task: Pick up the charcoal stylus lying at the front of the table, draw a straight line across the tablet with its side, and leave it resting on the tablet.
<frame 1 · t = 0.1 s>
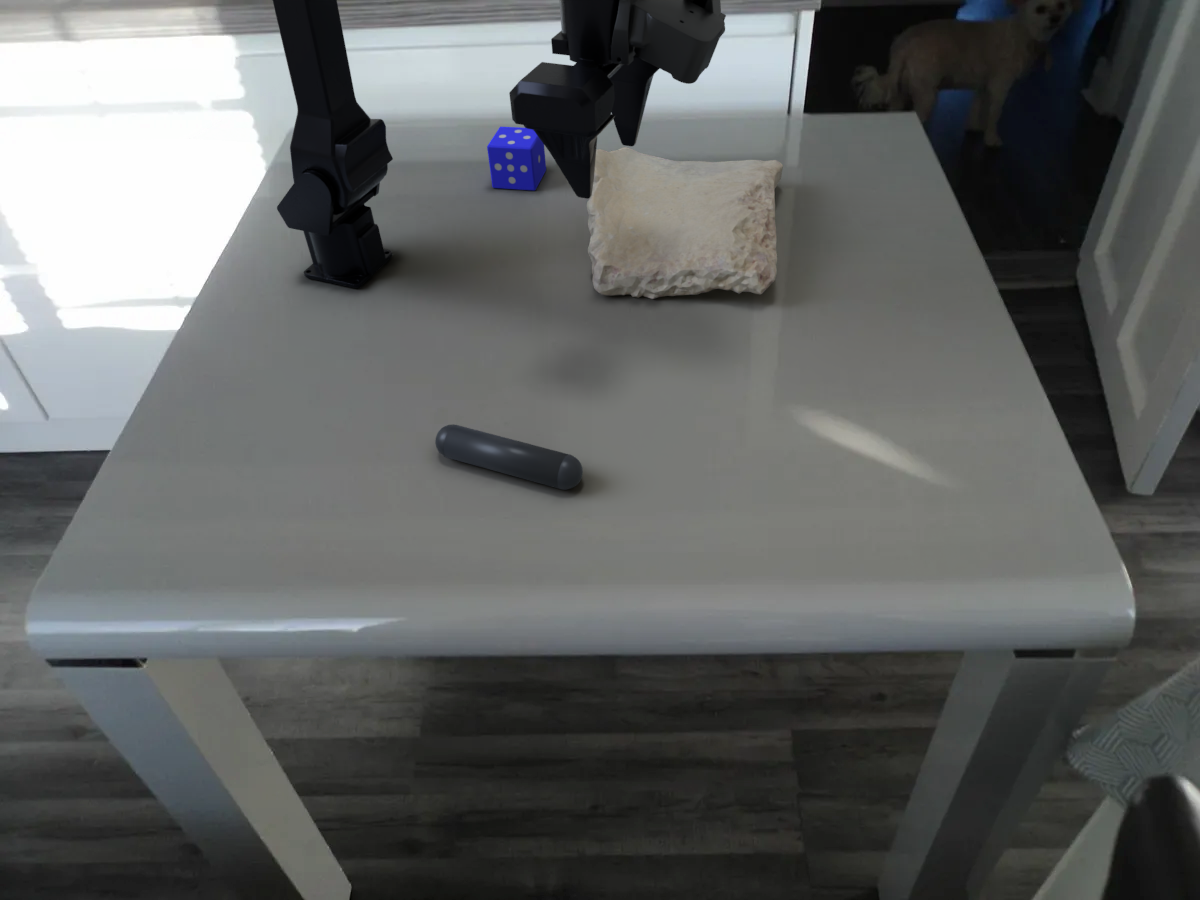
hand: (607, 170, 71), 15 cm above the table, tool pointing down, fingers open, 9 cm apart
die: (519, 181, 102), on the table
stylus: (509, 468, 68), on the table
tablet: (678, 238, 92), on the table
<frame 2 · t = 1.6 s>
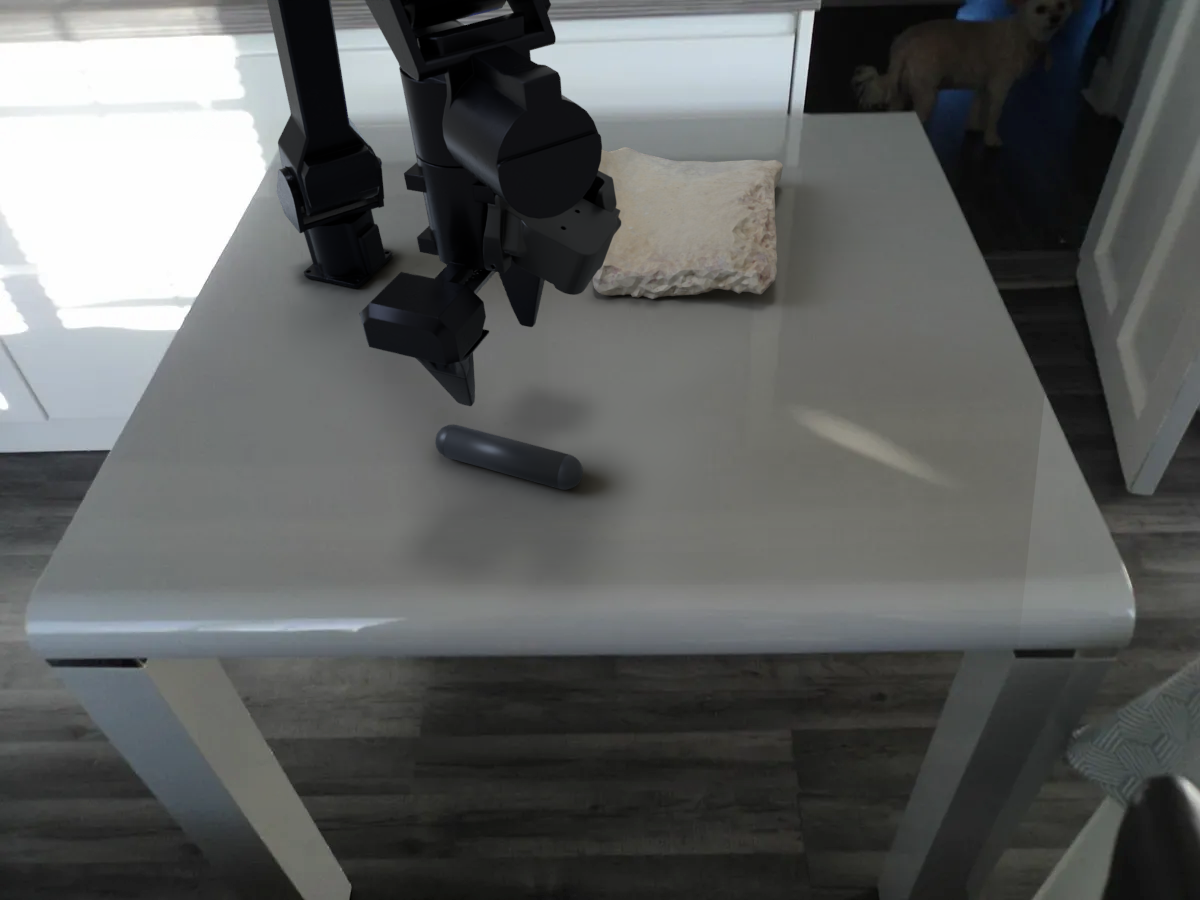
hand: (498, 362, 62), 10 cm above the table, tool pointing down, fingers open, 9 cm apart
nothing on the table moved.
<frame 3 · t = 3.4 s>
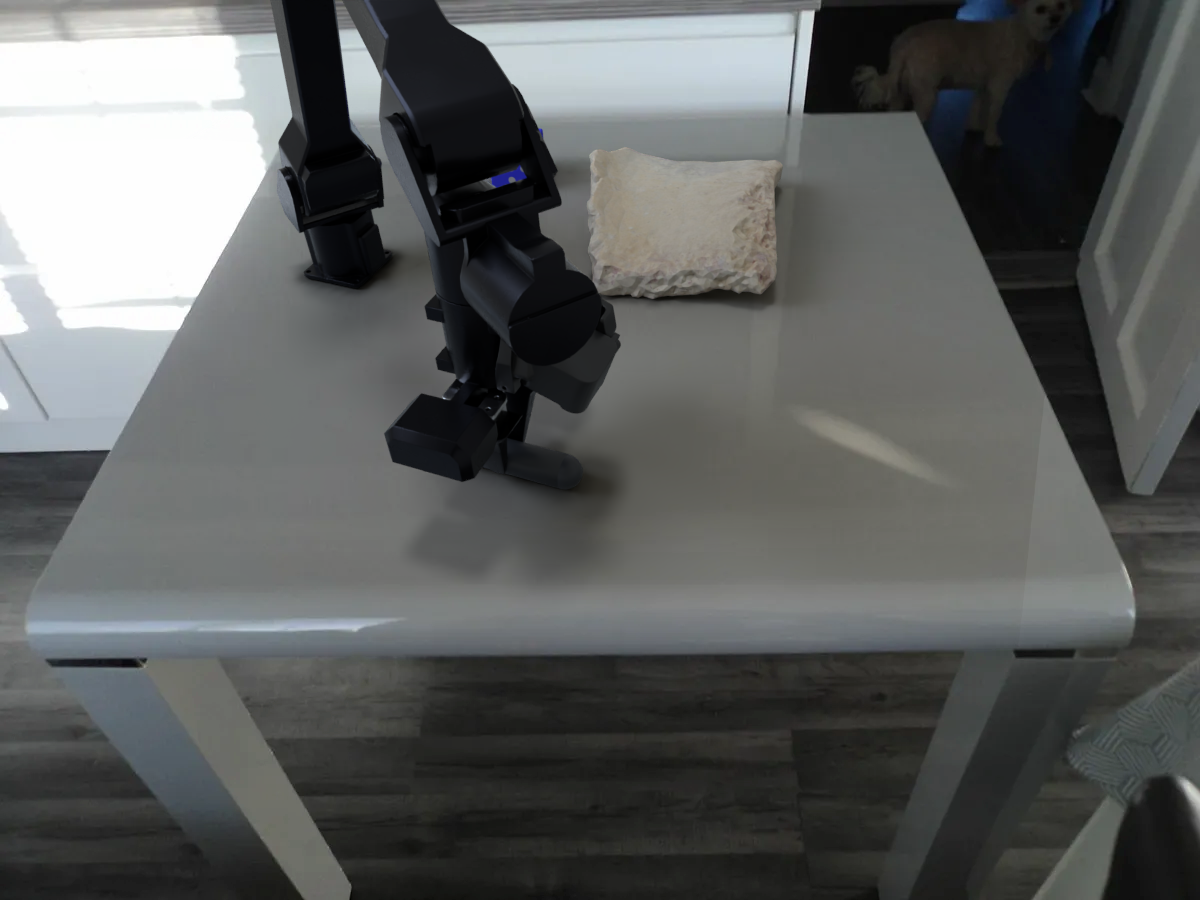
hand: (507, 458, 68), 1 cm above the table, tool pointing down, fingers closed on stylus, 2 cm apart
stylus: (509, 468, 68), on the table, touching gripper
everything else where it was.
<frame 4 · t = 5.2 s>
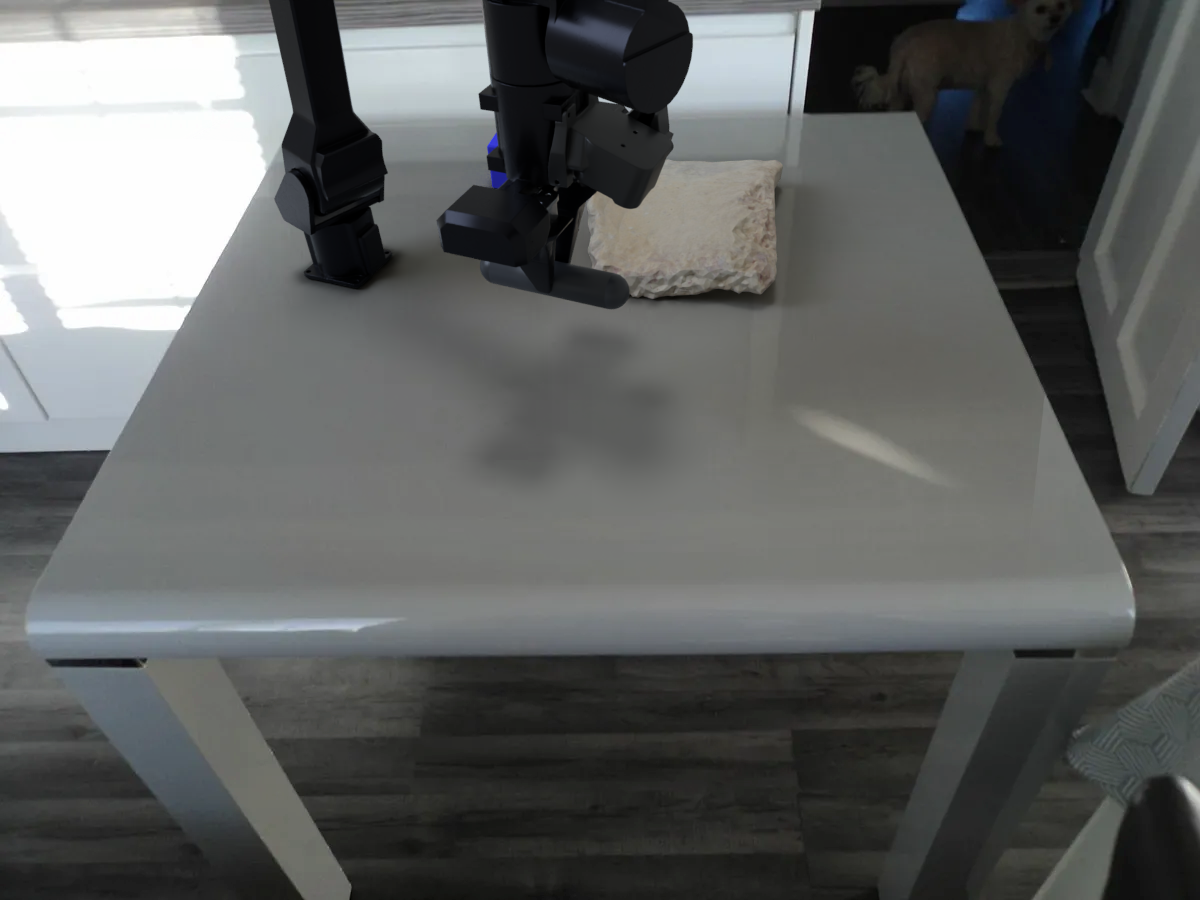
hand: (553, 281, 67), 11 cm above the table, tool pointing down, fingers closed on stylus, 2 cm apart
stylus: (554, 293, 68), point 10 cm above the table, touching gripper
everything else where it was.
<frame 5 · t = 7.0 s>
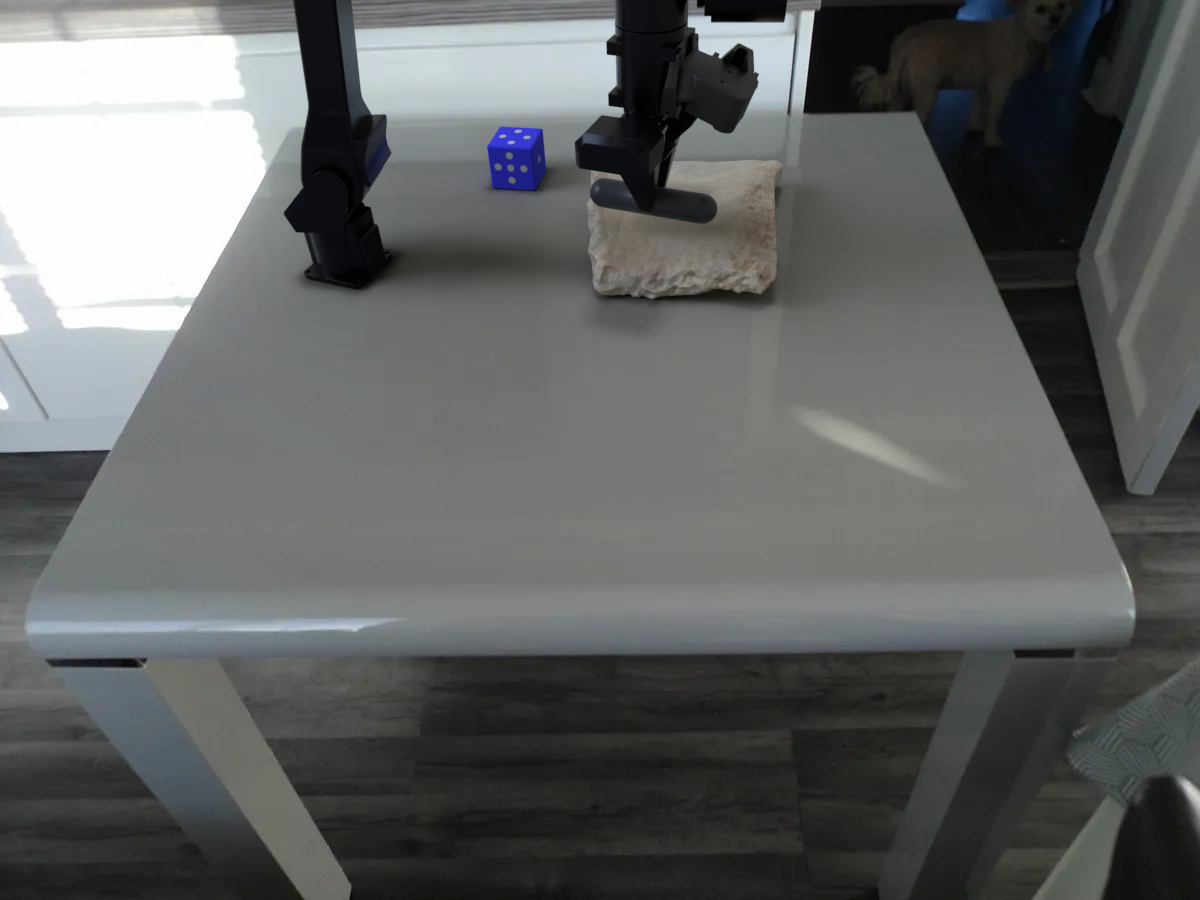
hand: (651, 203, 82), 8 cm above the table, tool pointing down, fingers closed on stylus, 2 cm apart
stylus: (652, 213, 82), point 7 cm above the table, touching gripper
everything else where it was.
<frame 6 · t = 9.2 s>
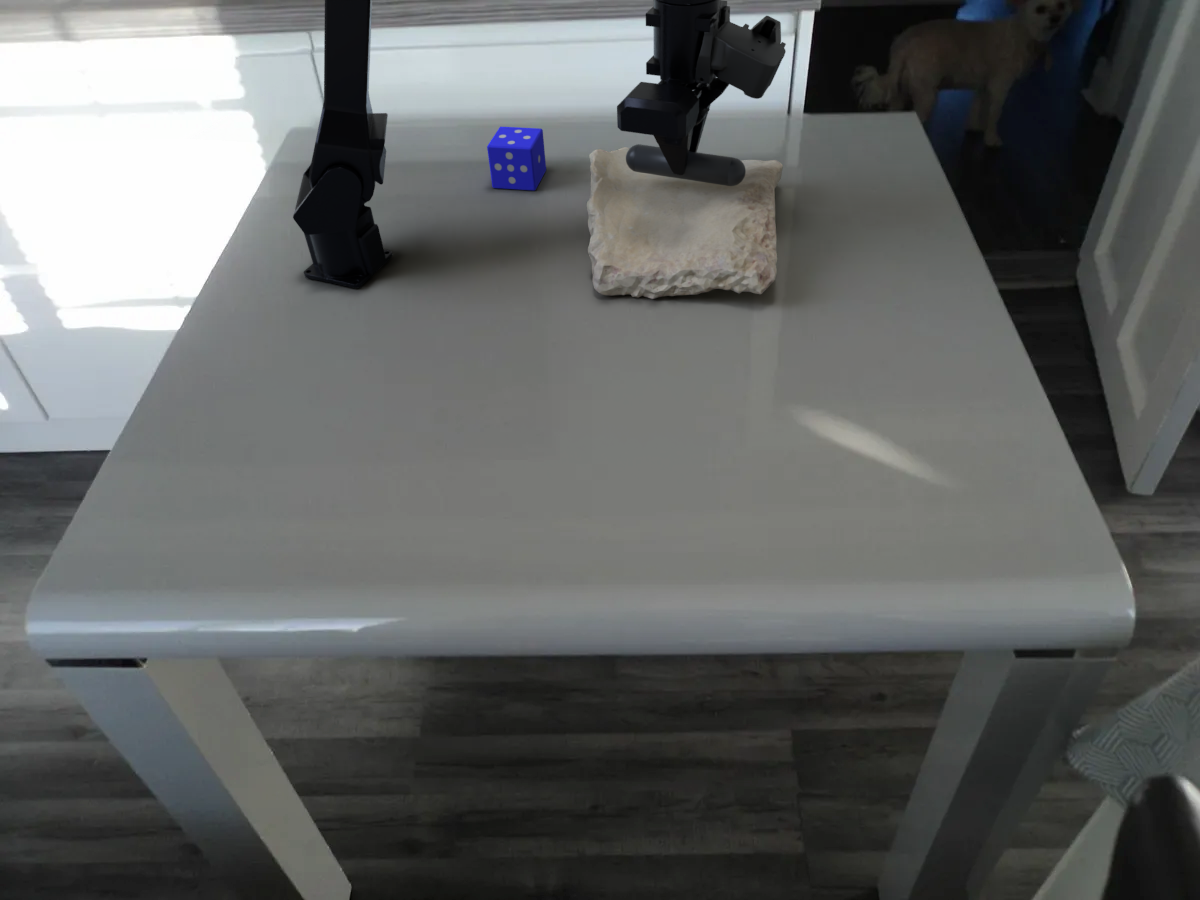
hand: (683, 167, 87), 7 cm above the table, tool pointing down, fingers closed on stylus, 2 cm apart
stylus: (684, 177, 88), point 6 cm above the table, touching gripper
everything else where it was.
when the fingers open (7 cm above the table, at t = 10.6 s): stylus stays where it is, resting on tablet.
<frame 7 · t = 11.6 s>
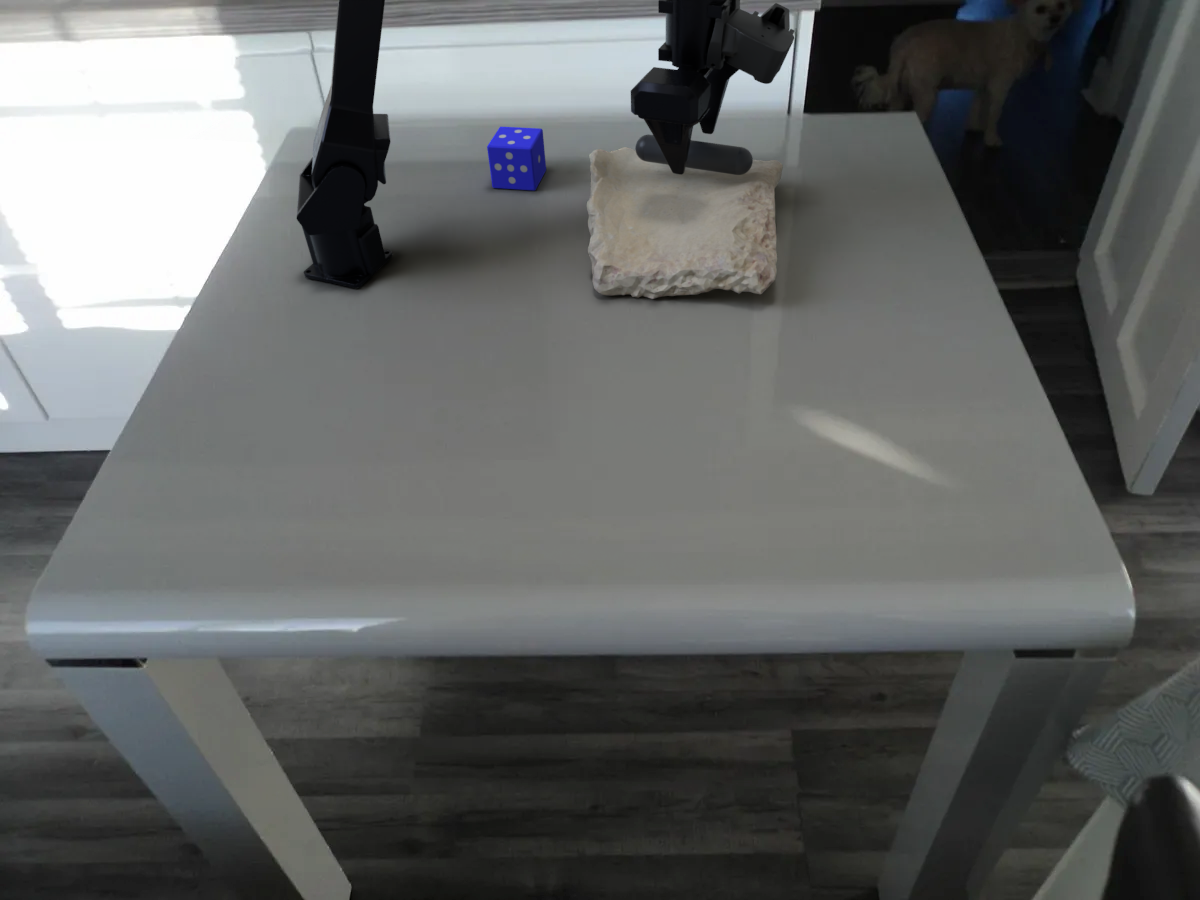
hand: (693, 152, 90), 7 cm above the table, tool pointing down, fingers open, 9 cm apart
stylus: (693, 165, 90), point 6 cm above the table, tilted 10°, touching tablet
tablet: (678, 238, 92), on the table, touching stylus
everything else where it was.
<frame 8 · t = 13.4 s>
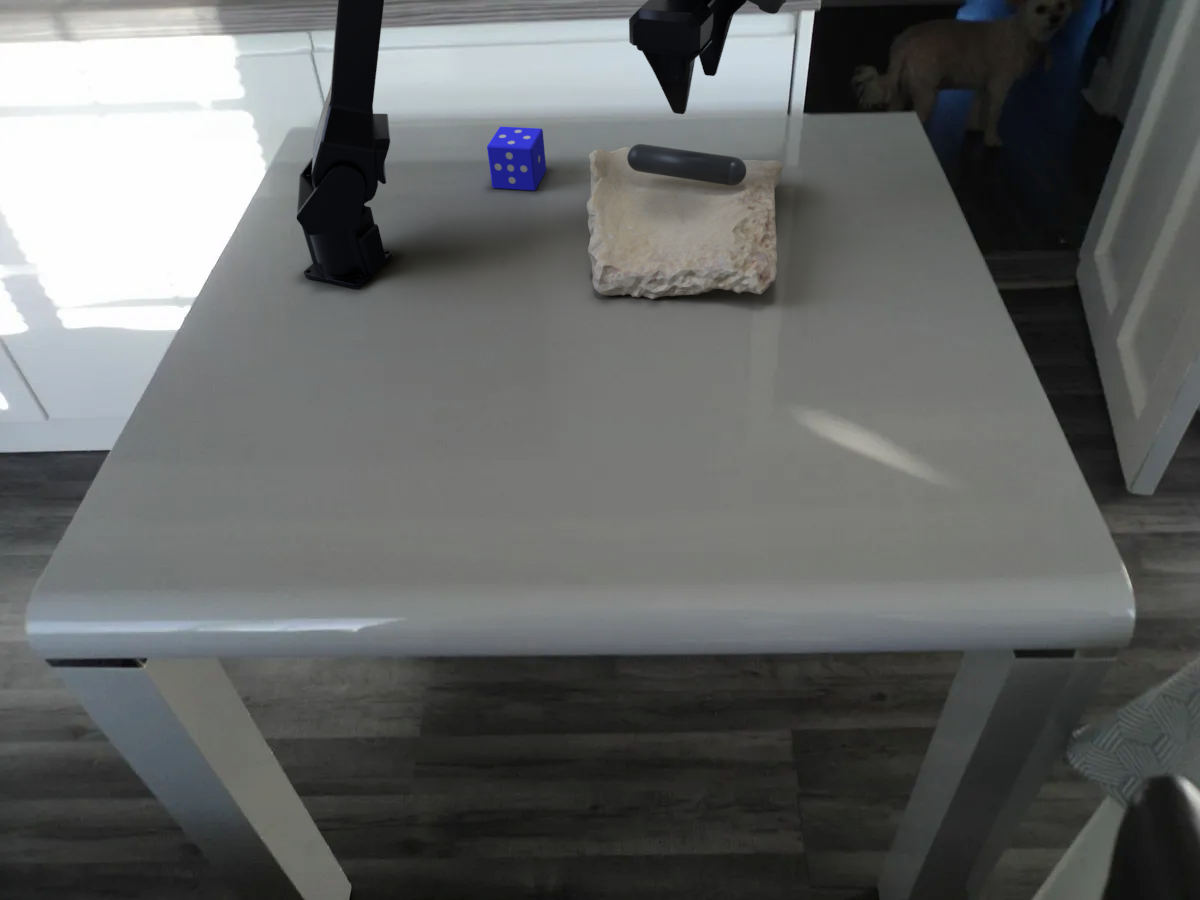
hand: (695, 93, 86), 13 cm above the table, tool pointing down, fingers open, 9 cm apart
stylus: (689, 155, 89), point 7 cm above the table, tilted 108°, touching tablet
everything else where it was.
at the end: stylus inside the target area on the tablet (2.2 cm from its centre), point 8.0 cm above the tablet's base; stylus moved 39.0 cm from its start; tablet moved 0.2 cm from its start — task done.
